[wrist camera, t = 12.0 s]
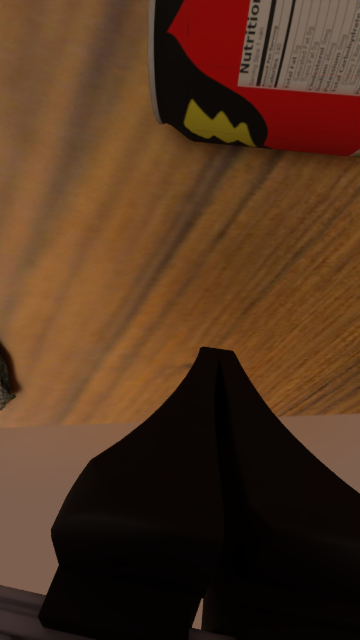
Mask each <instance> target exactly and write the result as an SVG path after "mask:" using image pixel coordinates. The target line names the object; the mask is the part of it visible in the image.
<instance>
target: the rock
mask: <svg viewBox="0 0 360 640" xmlns="http://www.w3.org/2000/svg"><path fill="white" fill-rule="evenodd" d="M15 397H16V396H15V395H13V394H12V393H11V387H10V385H9V371H8V366H7V365H6V362H5V361H4V359H3V357H2V355H1V354H0V410H2V409H3V408H4V407H5V404H6V403H7V401H10V400H12V399H14V398H15Z"/></svg>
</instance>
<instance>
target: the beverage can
mask: <svg viewBox="0 0 360 640" xmlns="http://www.w3.org/2000/svg"><path fill="white" fill-rule="evenodd" d="M148 65H149V81H150V92H151V99H152V106H153V111H154V115H155V118H156V120H157V122H158V123H159V124H165V123H167V124H170V125H172V126H173V127H175V128H176V129H177V130H178V131H179V132H181V133H182V134H183V135H184V136H186V137H187V138H188V139H190V140H192V141H194V142H205V143H215V144H226V145H236V146H247V147H257V148H268V149H278V150H289V151H299V152H310V153H320V154H331V155H341V156H351V157H360V0H149V16H148Z"/></svg>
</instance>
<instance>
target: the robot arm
mask: <svg viewBox="0 0 360 640" xmlns="http://www.w3.org/2000/svg"><path fill="white" fill-rule="evenodd" d="M51 538H52V542H53V545H54V549H55V553H56V556H57V559H58V563H59V566H58V569H57V571H56V574H55V576H54V579H53V581H52V583H51V585H50V588H49V590H48V593H47V595H42V594H38V593H33V592H29V591H24V590H19V589H15V588H11V587H6V586H2V585H0V640H360V493H358V492H357V491H356V490H354V489H353V488H352V487H350V486H349V485H348V484H347V483H345V482H344V481H343V480H342V479H340V478H339V477H338V476H337V475H336V474H335V473H333V472H332V471H331V470H330V469H329V468H328V467H326V466H325V465H324V464H323V463H322V462H321V461H320V460H318V459H317V458H316V457H315V456H314V455H313V454H312V453H311V452H310V451H309V450H308V449H306V447H305V446H304V445H303V444H302V443H300V441H298V440H297V439H296V438H295V437H294V436H293V435H292V433H291V432H290V431H289V430H288V429H287V428H286V427H285V426H284V425H283V424H282V423H281V421H280V420H279V419H278V418H277V417H276V416H275V415H274V413H273V412H272V411H271V410H270V408H269V407H268V406H267V404H266V403H265V402H264V400H263V399H262V398H261V396H260V395H259V393H258V392H257V390H256V389H255V387H254V386H253V384H252V383H251V381H250V379H249V378H248V376H247V375H246V373H245V371H244V369H243V368H242V366H241V364H240V362H239V360H238V358H237V356H236V354H235V353H234V352H233V351H230V350H224V349H217V348H210V347H204V346H203V347H201V348H200V350H199V354H198V356H197V358H196V360H195V362H194V364H193V366H192V367H191V369H190V371H189V372H188V374H187V375H186V377H185V378H184V379H183V381H182V382H181V383H180V385H179V386H178V387H177V389H176V390H175V391H174V392H173V394H172V395H171V396H170V397H169V398H168V399H167V400H166V401H165V402H164V403H163V405H162V406H161V407H159V408H158V409H157V410H156V411H155V412H154V413H153V414H152V415H151V416H150V417H149V418H148V419H147V420H146V421H144V422H143V423H142V424H141V425H139V426H138V427H137V428H136V429H134V430H133V431H132V432H131V433H129V434H128V435H127V436H125V437H124V438H123V439H121V440H120V441H119V442H117V443H116V444H114V445H113V446H111V447H110V448H108V449H107V450H105V451H104V452H102V453H100V454H99V455H97V456H96V457H94V458H93V459H92V460H90V462H89V463H88V464H87V466H86V467H85V468H84V470H83V471H82V473H81V474H80V475H79V477H78V479H77V480H76V482H75V483H74V485H73V486H72V488H71V490H70V492H69V493H68V495H67V497H66V499H65V501H64V503H63V505H62V507H61V509H60V511H59V513H58V515H57V517H56V520H55V522H54V524H53V526H52V528H51ZM202 598H203V614H202V626H201V630H199V629H195V628H192V624H193V622H194V619H195V616H196V613H197V610H198V607H199V604H200V601H201V599H202Z"/></svg>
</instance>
